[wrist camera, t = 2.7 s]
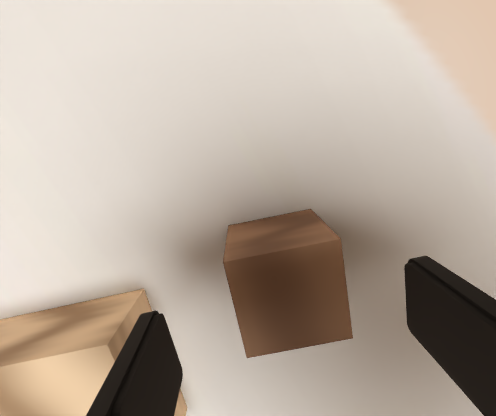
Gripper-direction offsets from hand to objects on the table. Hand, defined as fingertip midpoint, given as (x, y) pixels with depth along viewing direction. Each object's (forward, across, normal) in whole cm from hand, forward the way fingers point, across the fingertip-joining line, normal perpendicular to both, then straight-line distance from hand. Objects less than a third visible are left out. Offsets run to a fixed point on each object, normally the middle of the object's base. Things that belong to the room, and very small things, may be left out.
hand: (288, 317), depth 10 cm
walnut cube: (+7, 0, +1) cm, 7 cm away
